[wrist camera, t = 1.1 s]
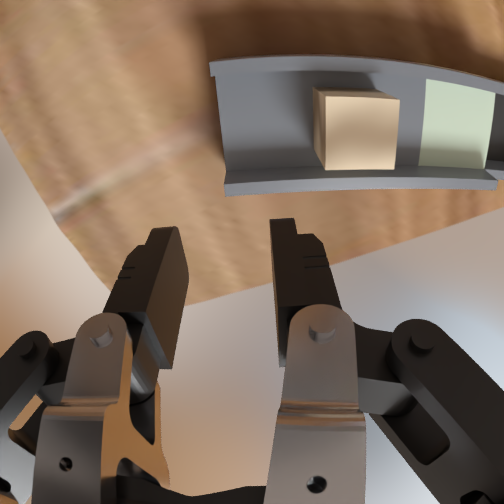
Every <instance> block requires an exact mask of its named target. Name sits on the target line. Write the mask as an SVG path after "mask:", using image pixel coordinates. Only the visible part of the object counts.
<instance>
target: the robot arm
mask: <svg viewBox="0 0 504 504" xmlns="http://www.w3.org/2000/svg"><path fill="white" fill-rule="evenodd" d="M270 238H271V257H272V274H273V287H274V300H275V314H276V327H277V341H278V355H279V367H285V373H284V382H283V391H282V398H281V405H280V408H279V410H278V415H277V421H276V427H275V434H274V440H273V447H272V454H271V461H270V467H269V473H268V480H267V486H245V487H241V488H236V489H232V490H227V491H222V492H217V493H212V494H206V495H200V496H193V497H192V496H186V495H183V494H180V493H177V492H174V491H171V490H170V480H169V479H170V478H169V470H168V465H167V462H166V459H165V457H164V454H163V451H162V444H161V409H160V408H161V407H160V404H161V403H160V402H161V397H160V386H159V383H158V381H157V378H158V373H159V369H172V366H173V360H174V355H175V350H176V344H177V339H178V334H179V328H180V323H181V318H182V312H183V308H184V303H185V298H186V294H187V289H188V283H189V273H188V266H187V262H186V258H185V254H184V250H183V245H182V241H181V237H180V233H179V230H178V228H177V227H176V226H173V227H161V228H153V229H152V230H151V232H150V234H149V237H148V239H147V241H146V243H145V245H138V246H137V247H136V248H135V249H134V250H133V251H132V252H131V253H130V254H129V255H128V256H127V258H126V260H125V262H124V264H123V266H122V270H121V271H120V273H119V275H118V280H116V282H115V284H114V287H113V289H112V291H111V294H110V296H109V298H108V300H107V303H106V305H105V308H104V310H103V313H101V314H98V315H95V316H93V317H91V318H89V319H88V320H87V321H85V322H84V323H83V324H82V325H81V327H80V328H79V330H78V332H77V334H76V337H75V338H73V339H68V340H65V341H61V342H57V343H52V342H51V341H50V340H49V338H48V337H47V335H46V334H45V333H43V332H41V331H31V332H28V333H26V334H24V335H23V336H21V337H20V338H19V339H18V340H16V342H15V343H14V344H13V345H12V346H11V347H10V348H9V349H8V350H7V351H6V352H5V354H4V355H3V356H2V357H1V358H0V504H25V503H26V501H27V500H28V499H29V497H30V496H31V495H32V503H31V504H365V482H366V423H365V417H364V414H363V412H365V413H369V415H370V416H371V418H372V419H373V420H374V421H375V423H376V424H377V425H378V426H379V428H380V429H381V430H382V431H383V433H384V434H385V435H386V437H387V438H388V439H389V440H390V442H391V443H392V444H393V445H394V447H395V448H396V449H397V450H398V452H399V453H400V454H401V455H402V457H403V458H404V459H405V460H406V462H407V463H408V464H409V466H410V467H411V468H412V469H413V470H414V472H415V473H416V474H417V476H418V477H419V478H420V479H421V481H422V482H423V483H424V484H425V486H426V487H427V488H428V489H429V491H430V492H431V493H432V494H433V495H434V497H435V498H436V499H437V501H438V502H439V503H440V504H504V391H503V390H502V389H501V388H500V387H499V386H498V385H497V383H496V382H495V381H493V379H492V378H491V377H490V376H489V375H488V374H487V373H486V372H485V371H484V370H483V369H482V368H481V367H480V366H479V365H478V364H477V363H476V362H475V361H474V360H473V359H472V358H471V357H470V356H469V355H468V354H467V353H466V352H465V351H464V350H463V349H462V348H461V347H460V346H459V345H458V344H457V343H456V342H455V341H453V339H451V338H450V337H449V336H448V335H447V334H446V333H445V332H444V331H443V330H442V329H441V328H440V327H438V326H437V325H436V324H434V323H432V322H430V321H427V320H422V319H411V320H407V321H404V322H402V323H401V324H399V325H398V326H397V327H396V328H395V330H394V332H387V331H380V330H374V329H369V328H365V327H362V326H360V325H358V324H356V323H355V322H353V321H352V319H351V318H350V316H349V315H348V314H347V313H345V312H344V311H343V310H342V307H341V305H340V301H339V297H338V293H337V290H336V287H335V283H334V279H333V276H332V272H331V269H330V268H329V262H328V259H327V257H326V252H325V249H324V246H323V243H322V242H321V241H320V240H319V239H318V238H317V237H316V236H315V235H314V234H313V233H312V234H297V229H296V225H295V220H294V218H284V219H270ZM35 394H36V395H37V396H38V397H39V398H40V399H41V400H42V401H43V402H42V404H41V405H40V406H39V407H38V409H37V410H36V411H35V412H34V413H33V415H32V416H31V417H30V418H29V420H28V421H27V422H26V423H25V425H24V426H23V427H22V428H21V429H19V430H11V429H10V428H9V426H10V425H11V424H12V422H13V421H14V420H15V418H16V417H17V416H18V415H19V413H20V412H21V411H22V410H23V408H24V407H25V406H26V405H27V404H28V402H29V401H30V400H31V399H32V398H33V396H34V395H35Z"/></svg>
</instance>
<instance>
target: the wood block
mask: <svg viewBox="0 0 504 504" xmlns="http://www.w3.org/2000/svg"><path fill="white" fill-rule="evenodd" d="M399 106H400V100H399V99H397V98H395V97H393V96H391V95H388V94H386V93H384V92H382V91H379V90H377V89H369V88H347V87H313V134H314V150H315V152H316V154H317V156H318V158H319V159H320V161H321V163H322V165H323V167H324V169H325V170H360V169H394V166H395V157H396V147H397V136H398V122H399Z"/></svg>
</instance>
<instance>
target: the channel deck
mask: <svg viewBox="0 0 504 504" xmlns="http://www.w3.org/2000/svg"><path fill="white" fill-rule="evenodd" d="M209 66H210V75H211V77H212V76H215V80H216V89H217V98H218V107H219V115H220V124H221V133H222V141H223V149H224V158H225V166H226V175H225V181H224V189H225V197H226V196H239V195H253V194H268V193H284V192H303V191H325V190H355V189H476V190H496V188H497V184H498V180H497V179H499V180H504V82H502V81H498V80H495V79H491V78H488V77H484V76H480V75H476V74H472V73H468V72H464V71H459V70H455V69H450V68H445V67H440V66H435V65H429V64H423V63H417V62H410V61H403V60H396V59H387V58H378V57H366V56H353V55H332V54H280V55H259V56H245V57H233V58H223V59H217V60H214V61H211V62H209ZM313 87H347V88H369V89H377V90H379V91H382V92H384V93H386V94H388V95H391V96H393V97H395V98H397V99H399V100H400V106H399V122H398V136H397V147H396V157H395V166H394V169H360V170H325V169H324V167H323V165H322V163H321V161H320V159H319V158H318V156H317V154H316V152H315V150H314V134H313Z"/></svg>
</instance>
